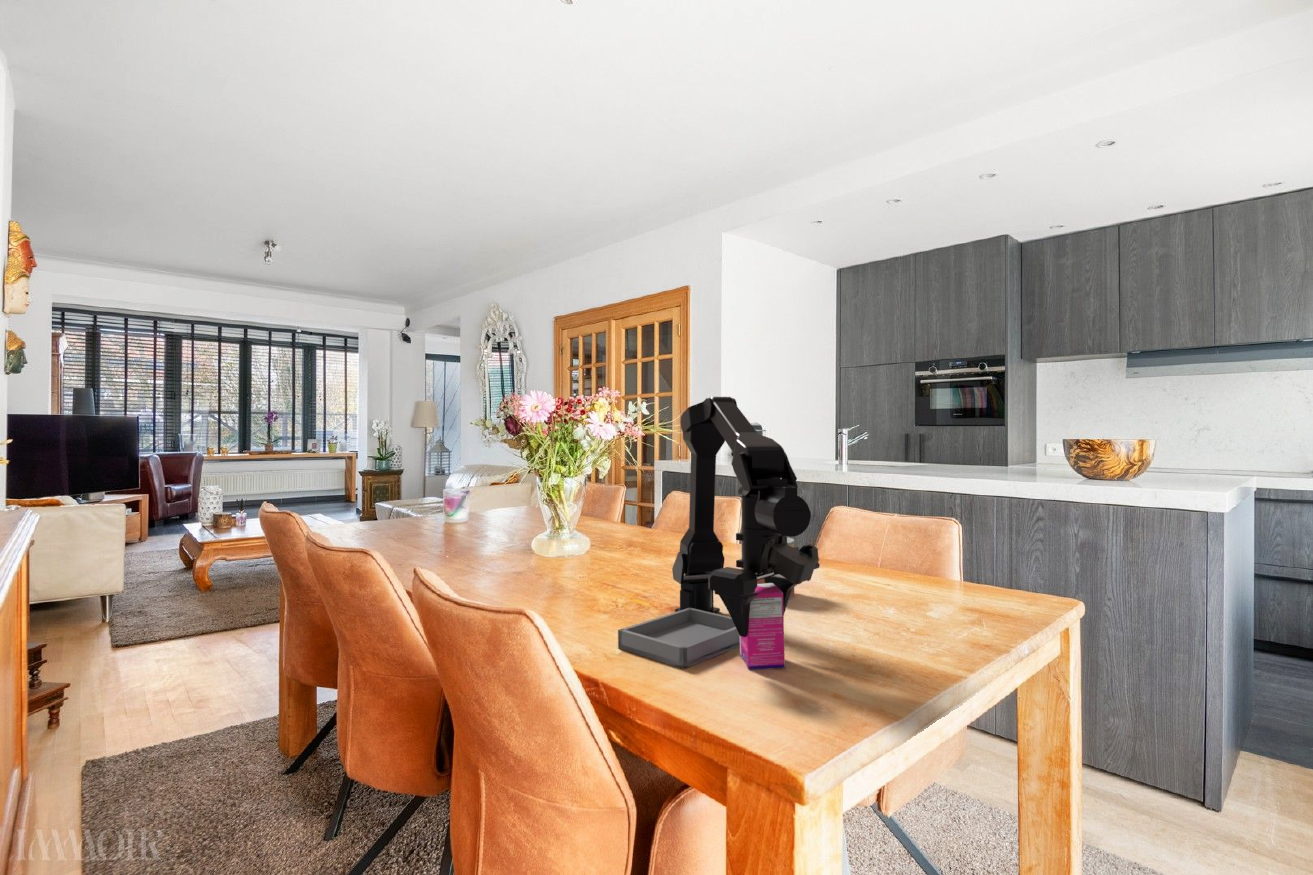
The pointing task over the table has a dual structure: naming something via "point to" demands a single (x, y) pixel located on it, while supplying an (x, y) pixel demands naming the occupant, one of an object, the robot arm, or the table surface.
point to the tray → (681, 637)
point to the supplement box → (765, 630)
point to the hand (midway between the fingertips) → (761, 629)
